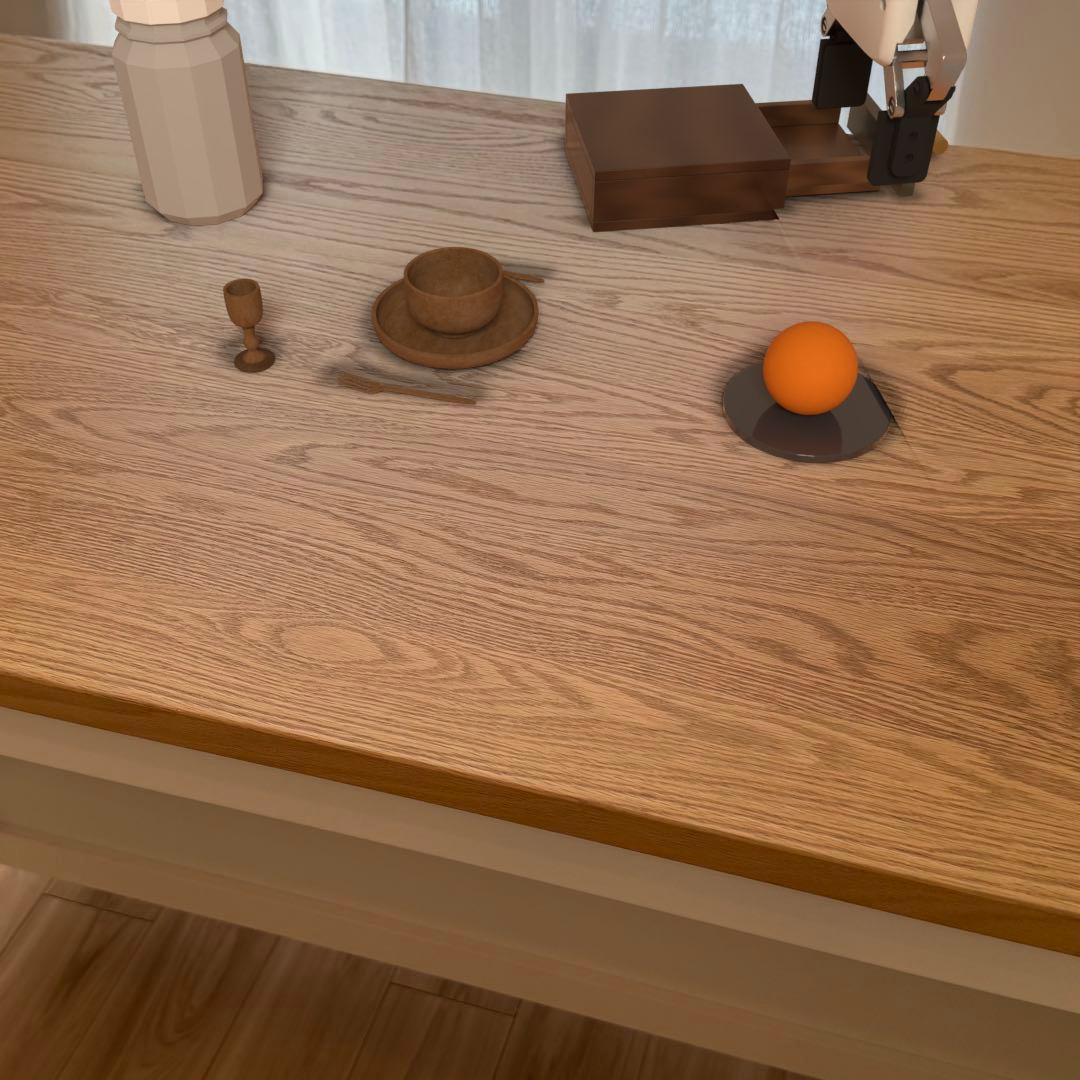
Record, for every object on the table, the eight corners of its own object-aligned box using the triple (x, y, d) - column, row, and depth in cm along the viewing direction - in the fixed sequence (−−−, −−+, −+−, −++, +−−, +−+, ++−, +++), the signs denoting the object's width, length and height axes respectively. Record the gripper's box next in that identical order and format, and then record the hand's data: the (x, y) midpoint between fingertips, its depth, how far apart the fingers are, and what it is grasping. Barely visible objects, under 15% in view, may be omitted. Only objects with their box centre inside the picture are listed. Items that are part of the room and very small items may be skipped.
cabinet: (736, 140, 113) (743, 83, 109) (782, 219, 102) (791, 158, 98) (564, 151, 111) (565, 93, 107) (593, 232, 100) (595, 171, 97)
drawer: (903, 123, 113) (910, 87, 111) (960, 193, 103) (970, 155, 101) (702, 135, 111) (705, 98, 109) (741, 208, 101) (746, 169, 99)
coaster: (857, 358, 87) (859, 351, 87) (913, 455, 79) (915, 448, 79) (705, 370, 86) (705, 363, 86) (746, 470, 78) (747, 463, 78)
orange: (835, 371, 85) (847, 297, 80) (863, 427, 80) (877, 353, 76) (749, 381, 84) (756, 308, 80) (773, 439, 80) (782, 365, 76)
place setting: (505, 414, 82) (504, 339, 78) (224, 374, 86) (209, 300, 82) (561, 279, 95) (562, 209, 91) (314, 249, 98) (305, 180, 94)
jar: (130, 227, 101) (74, -1, 88) (169, 172, 108) (122, -47, 96) (248, 234, 100) (208, 4, 88) (279, 178, 107) (246, -42, 95)
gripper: (1084, -155, 53) (989, 210, 65) (933, -242, 66) (876, 76, 77) (916, -146, 52) (851, 221, 64) (796, -236, 65) (759, 85, 77)
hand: (865, 142), depth 71 cm, fingers open, 9 cm apart
